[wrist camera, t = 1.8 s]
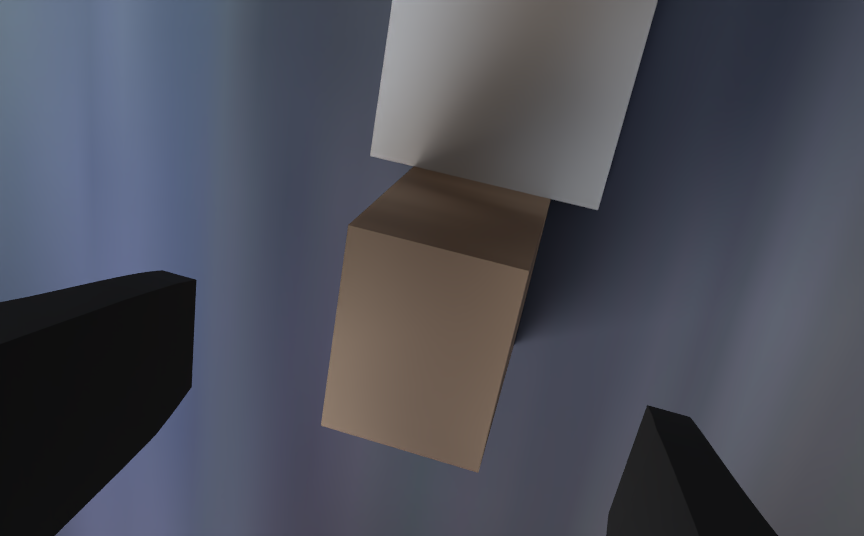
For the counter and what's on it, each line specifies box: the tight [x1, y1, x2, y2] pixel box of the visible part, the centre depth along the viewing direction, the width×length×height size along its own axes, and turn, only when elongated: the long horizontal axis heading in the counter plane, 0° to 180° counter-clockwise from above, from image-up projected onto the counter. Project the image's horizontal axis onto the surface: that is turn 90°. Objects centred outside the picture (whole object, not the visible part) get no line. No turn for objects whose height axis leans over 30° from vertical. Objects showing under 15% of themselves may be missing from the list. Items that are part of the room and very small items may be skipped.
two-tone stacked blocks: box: [321, 0, 658, 472], centre depth 13 cm, size 5×12×5 cm, turn 170°
